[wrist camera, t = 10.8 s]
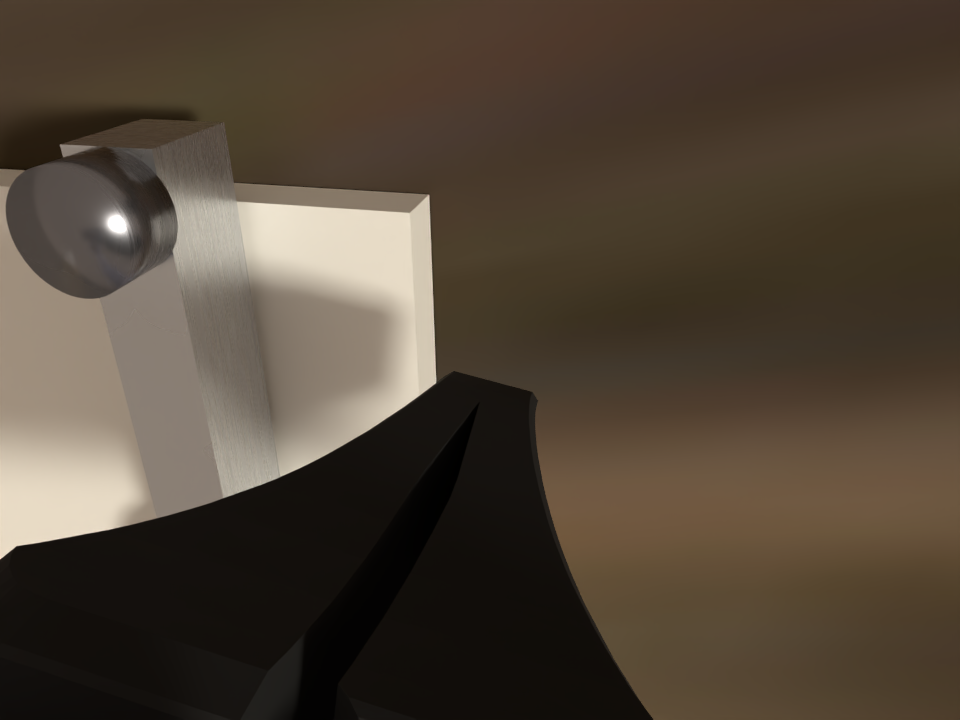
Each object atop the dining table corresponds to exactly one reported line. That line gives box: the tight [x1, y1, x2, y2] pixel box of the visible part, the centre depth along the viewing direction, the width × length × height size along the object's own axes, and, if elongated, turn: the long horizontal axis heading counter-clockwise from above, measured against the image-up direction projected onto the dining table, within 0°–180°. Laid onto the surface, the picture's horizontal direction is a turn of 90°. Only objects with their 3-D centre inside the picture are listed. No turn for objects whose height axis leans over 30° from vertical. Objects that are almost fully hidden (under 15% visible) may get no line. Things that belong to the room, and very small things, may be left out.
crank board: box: [0, 169, 436, 559], centre depth 19 cm, size 16×14×2 cm
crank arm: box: [6, 119, 280, 518], centre depth 15 cm, size 12×4×3 cm, turn 0°
